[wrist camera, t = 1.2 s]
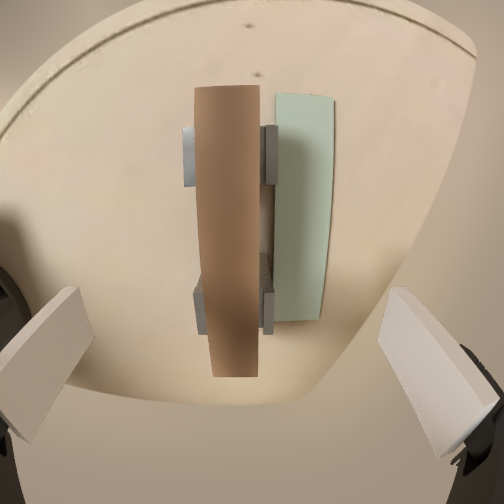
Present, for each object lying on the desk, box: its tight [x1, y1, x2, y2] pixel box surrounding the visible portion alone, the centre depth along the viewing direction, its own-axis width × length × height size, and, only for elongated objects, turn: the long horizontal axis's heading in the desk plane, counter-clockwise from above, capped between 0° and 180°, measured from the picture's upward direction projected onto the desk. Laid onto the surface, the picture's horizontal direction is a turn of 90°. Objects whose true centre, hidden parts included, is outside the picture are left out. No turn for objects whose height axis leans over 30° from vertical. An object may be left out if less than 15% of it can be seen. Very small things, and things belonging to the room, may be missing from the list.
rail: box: [194, 85, 260, 377], centre depth 18 cm, size 4×20×4 cm, turn 0°
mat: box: [273, 93, 334, 322], centre depth 26 cm, size 6×24×1 cm, turn 0°
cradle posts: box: [183, 125, 278, 335], centre depth 23 cm, size 6×16×8 cm, turn 0°
